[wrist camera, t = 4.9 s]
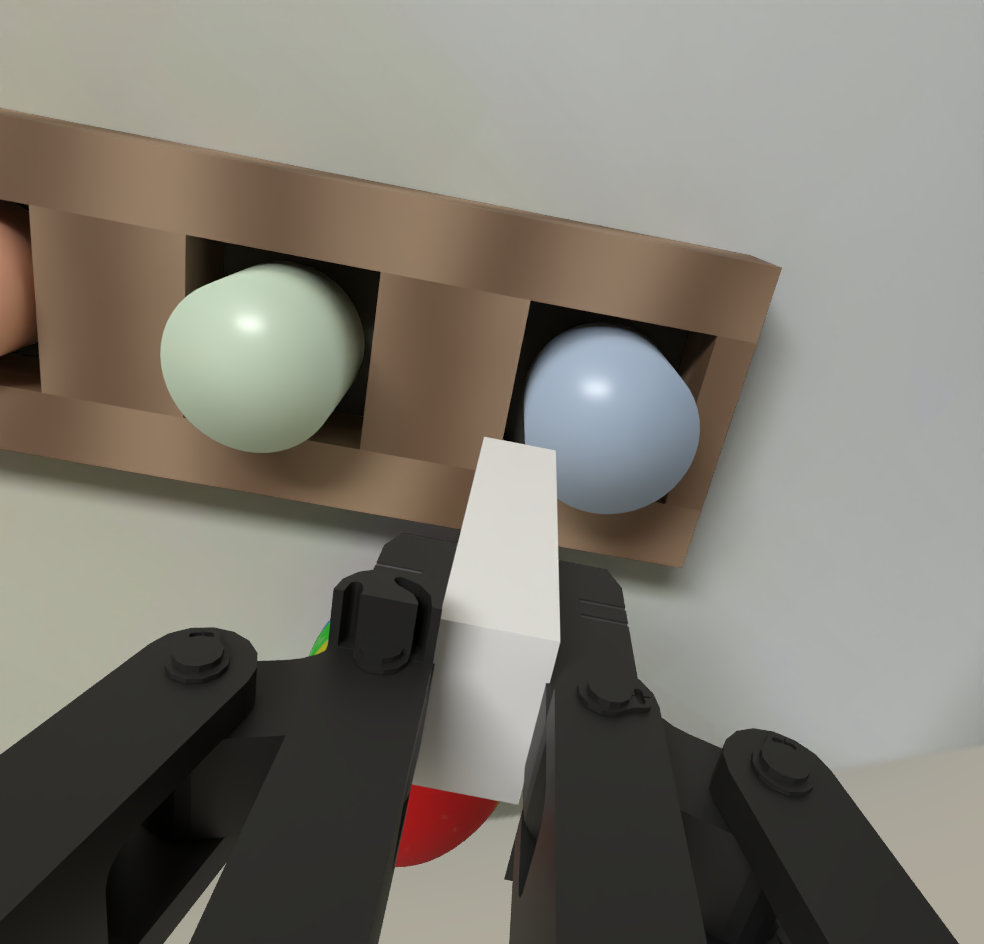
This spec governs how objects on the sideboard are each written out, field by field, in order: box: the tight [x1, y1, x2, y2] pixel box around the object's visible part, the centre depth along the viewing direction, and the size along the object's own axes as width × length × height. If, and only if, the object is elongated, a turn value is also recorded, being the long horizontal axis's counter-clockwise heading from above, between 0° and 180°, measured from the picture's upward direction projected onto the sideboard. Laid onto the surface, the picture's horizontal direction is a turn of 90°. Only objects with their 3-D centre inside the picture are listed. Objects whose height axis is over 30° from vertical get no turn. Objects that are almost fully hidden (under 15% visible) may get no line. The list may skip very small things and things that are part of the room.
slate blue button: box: [523, 322, 700, 514], centre depth 22 cm, size 5×5×4 cm
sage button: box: [160, 261, 365, 453], centre depth 21 cm, size 5×5×4 cm
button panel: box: [0, 108, 782, 568], centre depth 23 cm, size 28×10×3 cm, turn 80°
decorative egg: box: [309, 620, 500, 867], centre depth 25 cm, size 8×8×10 cm
